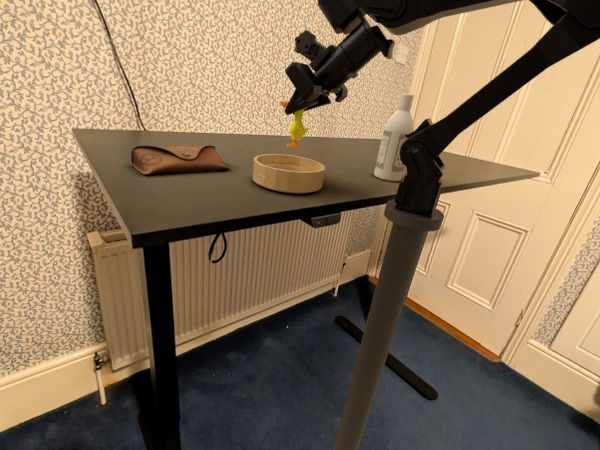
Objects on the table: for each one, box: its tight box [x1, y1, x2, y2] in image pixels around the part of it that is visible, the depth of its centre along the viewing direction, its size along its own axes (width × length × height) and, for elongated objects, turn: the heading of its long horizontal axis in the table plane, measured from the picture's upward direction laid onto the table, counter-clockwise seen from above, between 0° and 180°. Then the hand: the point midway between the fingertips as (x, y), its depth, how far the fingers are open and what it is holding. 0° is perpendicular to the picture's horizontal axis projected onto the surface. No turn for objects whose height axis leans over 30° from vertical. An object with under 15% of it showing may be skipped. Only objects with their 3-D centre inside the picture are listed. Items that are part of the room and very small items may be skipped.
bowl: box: [251, 153, 326, 194], centre depth 65 cm, size 14×14×4 cm
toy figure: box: [279, 100, 310, 149], centre depth 65 cm, size 7×4×12 cm, turn 69°
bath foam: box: [373, 93, 415, 182], centre depth 79 cm, size 7×7×20 cm
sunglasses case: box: [130, 144, 230, 176], centre depth 67 cm, size 18×7×7 cm
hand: (289, 112), depth 65 cm, fingers closed on toy figure, 2 cm apart
